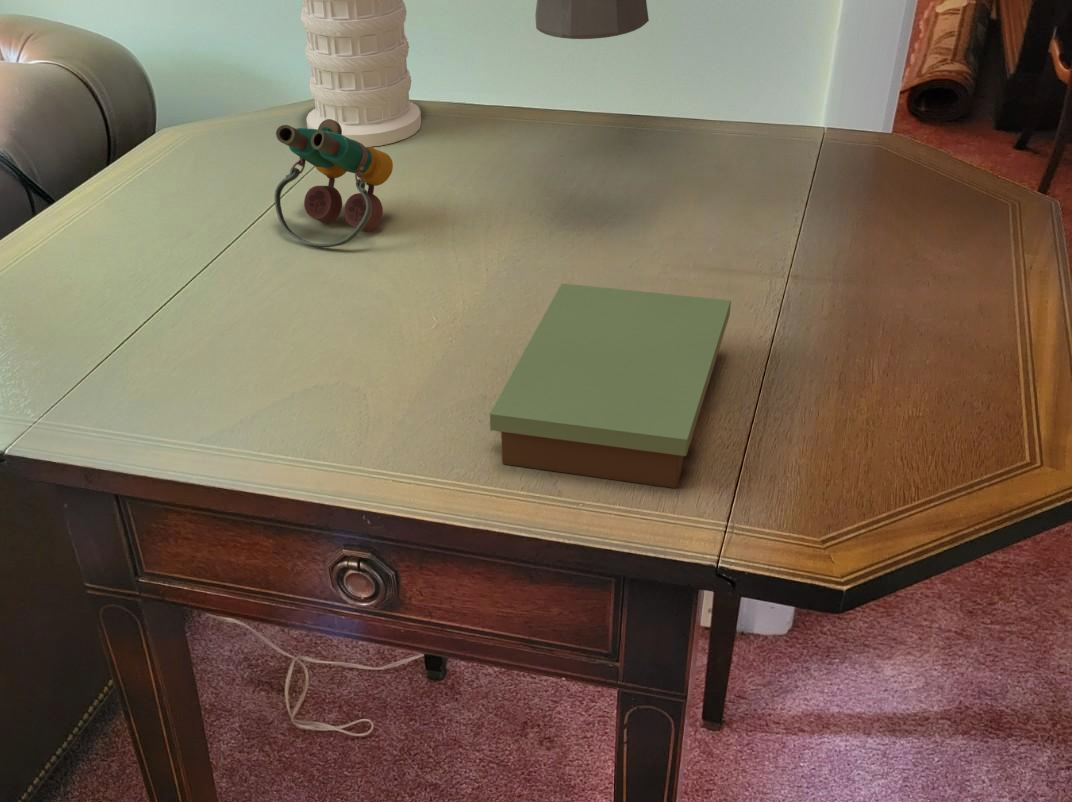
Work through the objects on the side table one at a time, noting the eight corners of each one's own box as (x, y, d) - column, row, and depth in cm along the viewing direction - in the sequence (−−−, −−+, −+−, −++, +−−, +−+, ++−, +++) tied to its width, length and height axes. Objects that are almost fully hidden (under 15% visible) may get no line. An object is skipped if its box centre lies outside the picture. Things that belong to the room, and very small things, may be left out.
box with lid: (725, 352, 86) (731, 300, 84) (682, 495, 73) (687, 439, 71) (560, 333, 89) (561, 283, 86) (491, 468, 76) (489, 413, 73)
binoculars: (385, 264, 104) (411, 144, 102) (328, 243, 96) (355, 113, 94) (296, 245, 108) (319, 129, 106) (233, 224, 99) (257, 98, 98)
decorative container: (296, 118, 127) (271, -76, 115) (402, 101, 129) (388, -89, 118) (323, 155, 118) (299, -50, 107) (436, 136, 121) (424, -65, 109)
